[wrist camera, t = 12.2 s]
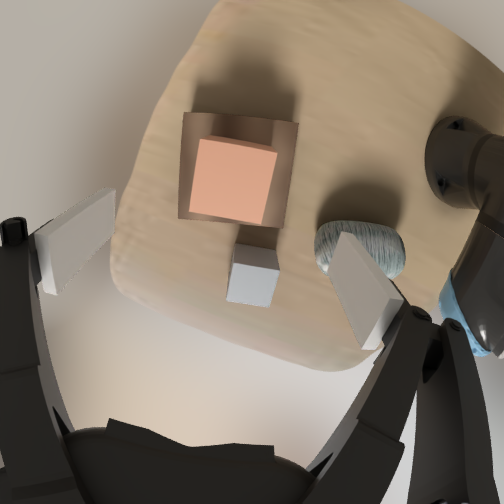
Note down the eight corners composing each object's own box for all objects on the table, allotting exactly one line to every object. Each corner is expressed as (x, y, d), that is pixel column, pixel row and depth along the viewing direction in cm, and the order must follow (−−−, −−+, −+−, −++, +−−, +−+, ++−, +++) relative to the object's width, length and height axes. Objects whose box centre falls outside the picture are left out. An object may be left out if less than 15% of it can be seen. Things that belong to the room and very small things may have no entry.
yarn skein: (414, 217, 36) (420, 273, 30) (388, 256, 43) (387, 308, 37) (328, 188, 37) (319, 242, 31) (312, 233, 45) (301, 284, 39)
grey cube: (275, 249, 41) (280, 270, 36) (266, 283, 44) (269, 307, 38) (235, 242, 41) (233, 262, 35) (228, 277, 43) (226, 300, 38)
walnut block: (291, 122, 33) (298, 122, 29) (278, 215, 39) (282, 228, 35) (191, 113, 33) (183, 112, 28) (185, 206, 38) (177, 218, 34)
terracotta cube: (271, 146, 30) (277, 153, 24) (258, 203, 33) (261, 224, 27) (210, 135, 29) (200, 138, 23) (200, 193, 32) (188, 211, 26)
